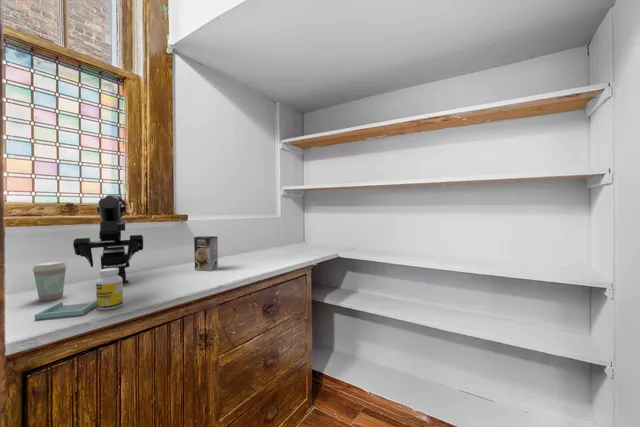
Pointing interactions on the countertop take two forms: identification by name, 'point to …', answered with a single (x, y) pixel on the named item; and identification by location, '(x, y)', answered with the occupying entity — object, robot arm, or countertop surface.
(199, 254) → the coffee box
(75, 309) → the dock
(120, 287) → the pill bottle
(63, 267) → the coffee cup
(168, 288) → the countertop surface
